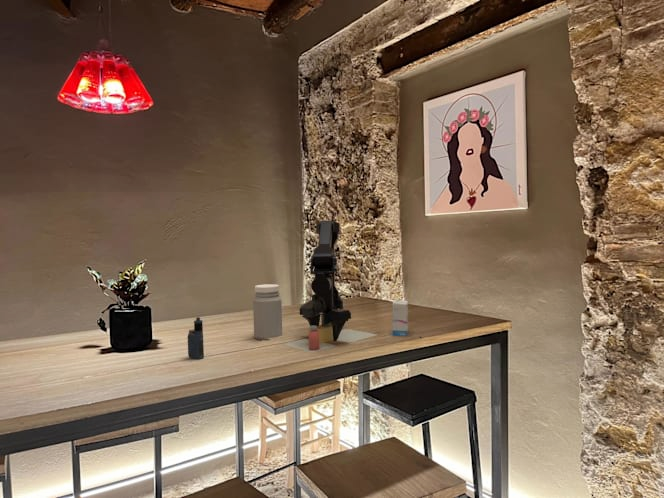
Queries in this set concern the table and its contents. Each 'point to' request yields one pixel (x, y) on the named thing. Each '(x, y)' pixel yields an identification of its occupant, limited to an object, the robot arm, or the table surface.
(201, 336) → the vaping device
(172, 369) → the table surface
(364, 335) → the subfloor panel
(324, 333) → the block
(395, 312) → the ink box
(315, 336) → the small red bottle
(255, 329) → the jar
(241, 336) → the table surface
